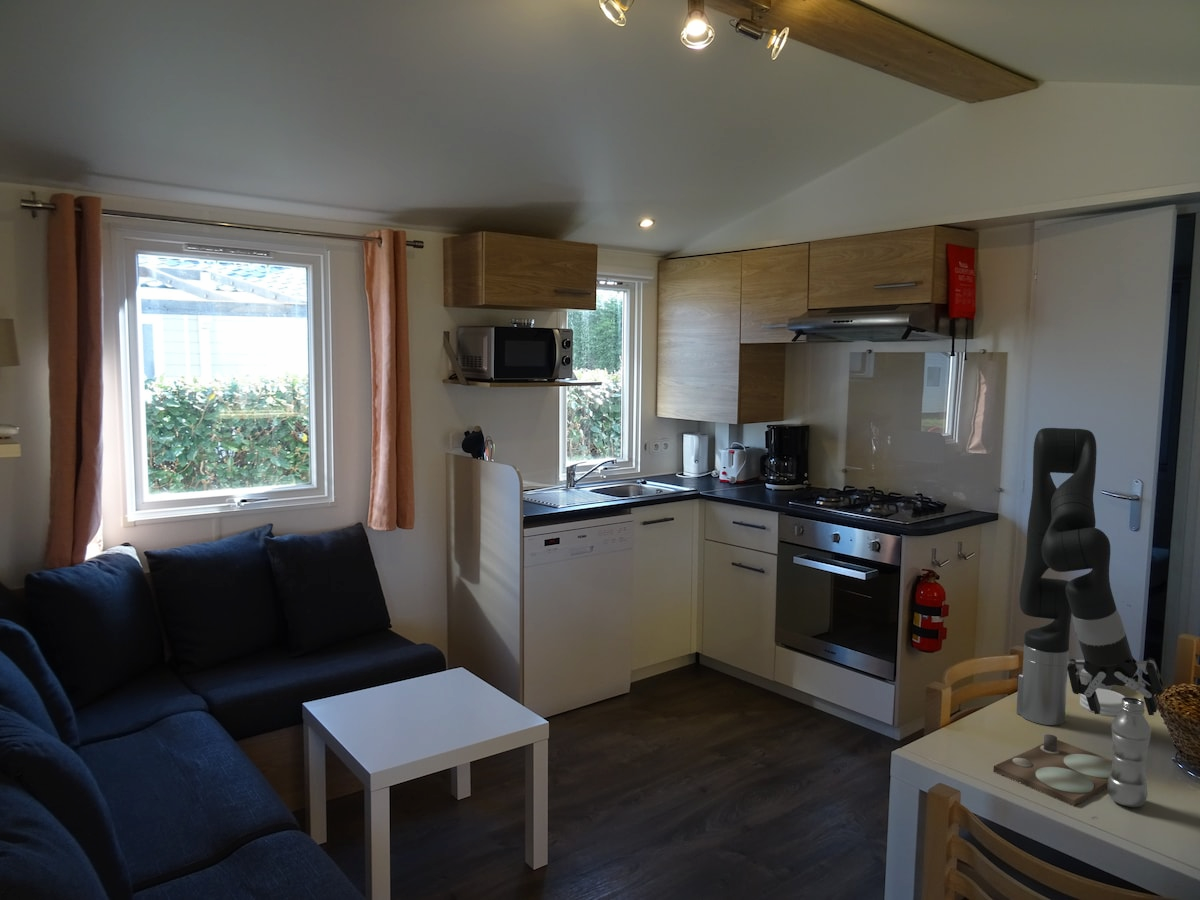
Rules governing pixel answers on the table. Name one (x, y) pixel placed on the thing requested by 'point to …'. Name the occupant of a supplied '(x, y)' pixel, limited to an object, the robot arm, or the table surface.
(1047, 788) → the board
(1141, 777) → the plastic bottle
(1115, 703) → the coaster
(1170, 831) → the table surface
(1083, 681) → the ramekin
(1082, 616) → the robot arm
